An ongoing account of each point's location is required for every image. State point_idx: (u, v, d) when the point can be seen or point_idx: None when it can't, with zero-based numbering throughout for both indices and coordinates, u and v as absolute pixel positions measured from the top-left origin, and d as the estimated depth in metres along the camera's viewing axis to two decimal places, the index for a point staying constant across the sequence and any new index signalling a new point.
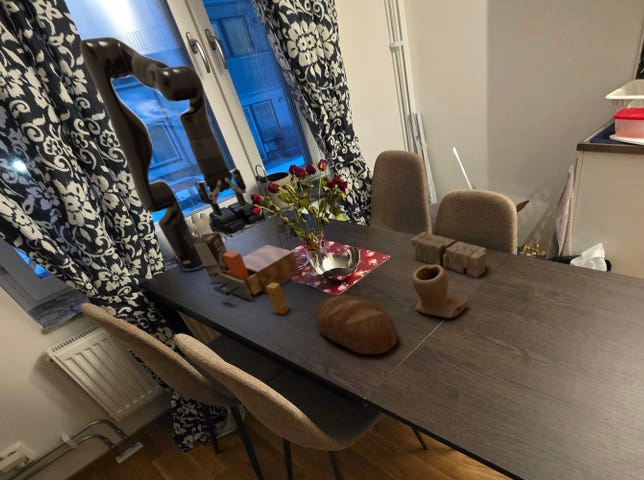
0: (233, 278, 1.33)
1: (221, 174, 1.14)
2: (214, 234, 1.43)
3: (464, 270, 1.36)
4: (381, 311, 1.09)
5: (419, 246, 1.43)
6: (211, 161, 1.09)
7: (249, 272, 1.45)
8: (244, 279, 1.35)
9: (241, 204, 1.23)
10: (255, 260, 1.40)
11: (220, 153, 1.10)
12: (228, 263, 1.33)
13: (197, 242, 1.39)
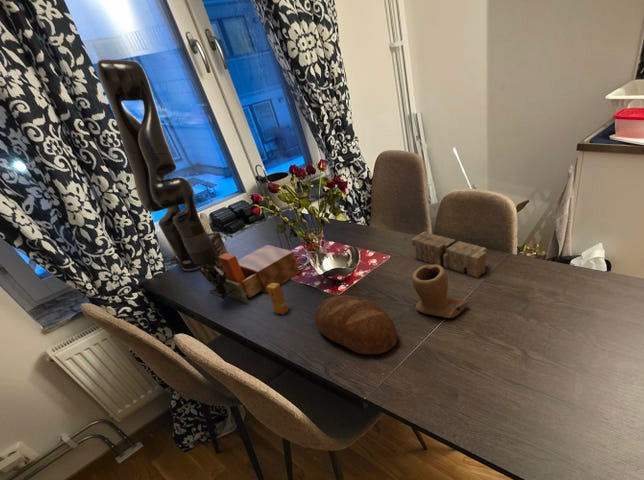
0: (228, 281, 1.32)
1: (206, 264, 1.24)
2: (214, 234, 1.43)
3: (464, 270, 1.36)
4: (381, 311, 1.09)
5: (419, 246, 1.43)
6: (189, 253, 1.21)
7: (245, 274, 1.43)
8: (240, 281, 1.34)
9: None
10: (255, 260, 1.40)
11: (193, 252, 1.19)
12: (223, 265, 1.32)
13: None
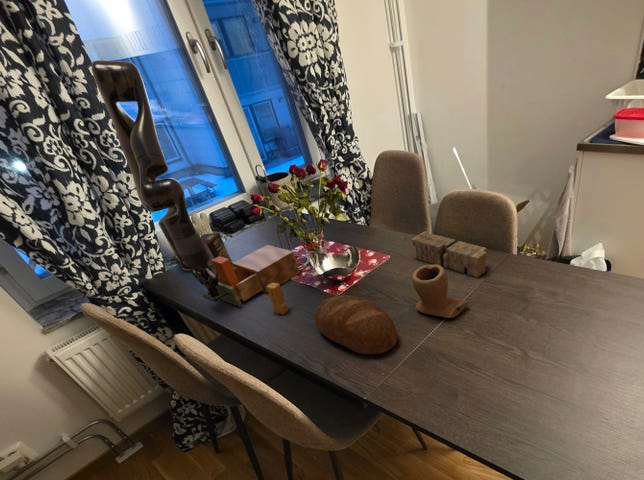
0: (222, 284, 1.30)
1: (198, 267, 1.22)
2: (214, 234, 1.43)
3: (464, 270, 1.36)
4: (381, 311, 1.09)
5: (419, 246, 1.43)
6: None
7: (239, 278, 1.42)
8: (233, 285, 1.32)
9: None
10: (255, 260, 1.40)
11: (184, 254, 1.17)
12: (217, 269, 1.30)
13: None
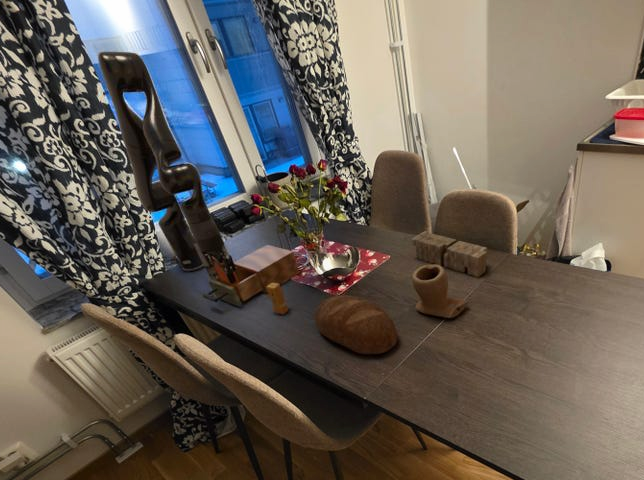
0: (222, 284, 1.30)
1: (212, 252, 1.25)
2: None
3: (465, 269, 1.36)
4: (381, 311, 1.09)
5: (420, 246, 1.43)
6: None
7: (239, 278, 1.42)
8: (233, 285, 1.32)
9: None
10: (255, 260, 1.40)
11: (200, 239, 1.19)
12: (217, 269, 1.30)
13: None
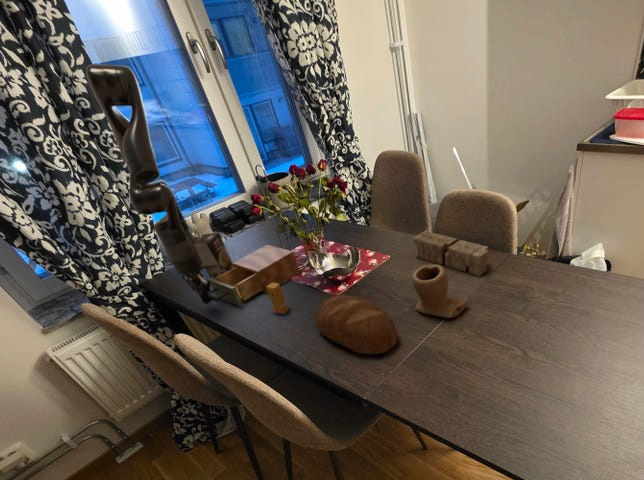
0: (223, 284, 1.31)
1: (189, 273, 1.21)
2: (214, 234, 1.43)
3: (466, 268, 1.37)
4: (381, 311, 1.09)
5: (421, 245, 1.43)
6: None
7: (240, 277, 1.42)
8: None
9: None
10: (255, 260, 1.40)
11: (175, 260, 1.15)
12: None
13: (197, 242, 1.39)
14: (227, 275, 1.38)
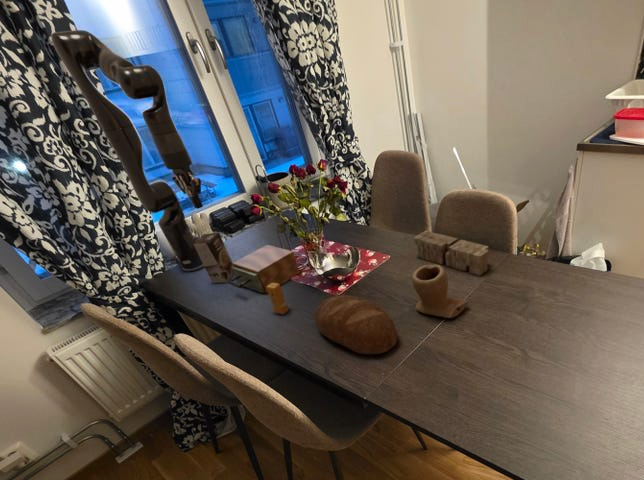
0: (245, 271, 1.36)
1: (179, 171, 1.18)
2: (214, 234, 1.43)
3: (467, 268, 1.37)
4: (381, 311, 1.09)
5: (421, 245, 1.44)
6: (161, 156, 1.15)
7: None
8: None
9: None
10: (255, 260, 1.40)
11: (165, 153, 1.13)
12: None
13: (197, 242, 1.39)
14: None
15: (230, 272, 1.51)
